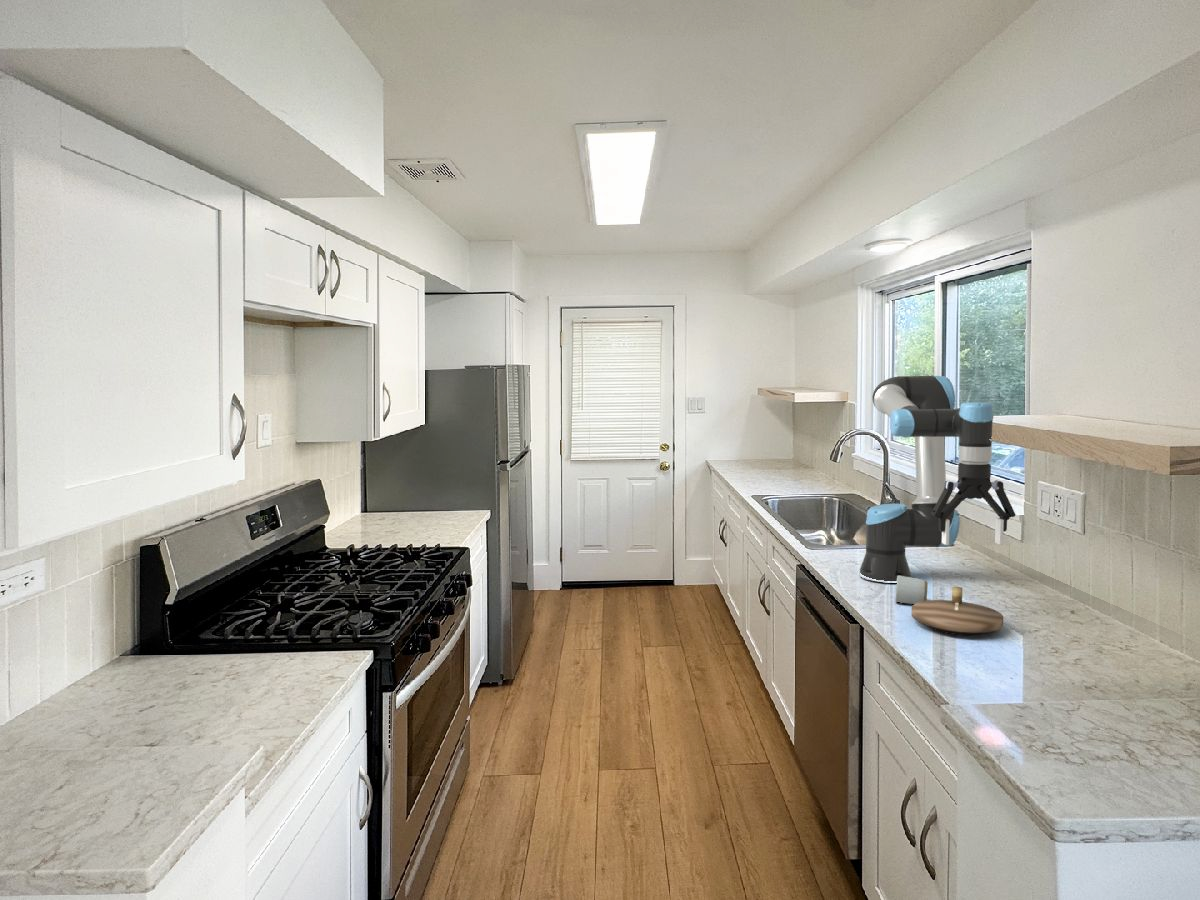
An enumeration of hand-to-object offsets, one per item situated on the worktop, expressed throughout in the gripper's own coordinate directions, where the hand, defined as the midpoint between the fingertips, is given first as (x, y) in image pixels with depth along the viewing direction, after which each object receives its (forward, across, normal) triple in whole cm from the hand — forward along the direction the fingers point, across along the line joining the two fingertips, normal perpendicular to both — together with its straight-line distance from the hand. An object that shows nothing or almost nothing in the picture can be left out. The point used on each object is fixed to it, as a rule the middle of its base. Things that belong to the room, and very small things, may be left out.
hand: (971, 543), depth 193 cm
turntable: (+18, +6, +6) cm, 20 cm away
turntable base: (+20, +6, +6) cm, 22 cm away
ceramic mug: (+20, +10, -14) cm, 27 cm away
